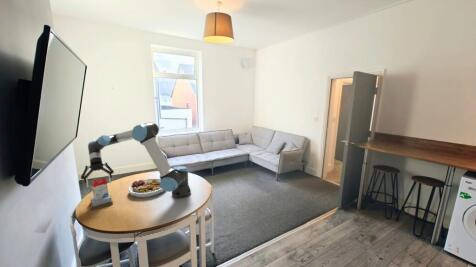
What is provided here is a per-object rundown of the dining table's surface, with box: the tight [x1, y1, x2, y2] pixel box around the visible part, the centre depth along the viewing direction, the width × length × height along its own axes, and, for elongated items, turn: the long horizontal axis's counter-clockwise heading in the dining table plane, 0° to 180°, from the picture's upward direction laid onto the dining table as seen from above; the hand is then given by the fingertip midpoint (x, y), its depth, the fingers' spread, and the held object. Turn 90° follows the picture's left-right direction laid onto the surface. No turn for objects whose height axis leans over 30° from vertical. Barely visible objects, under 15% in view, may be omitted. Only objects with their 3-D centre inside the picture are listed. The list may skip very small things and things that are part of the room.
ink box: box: [91, 177, 110, 200], centre depth 151 cm, size 8×5×15 cm, turn 140°
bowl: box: [128, 177, 165, 198], centre depth 174 cm, size 30×30×8 cm
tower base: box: [90, 194, 114, 211], centre depth 153 cm, size 13×13×3 cm
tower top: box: [90, 193, 112, 206], centre depth 152 cm, size 11×11×3 cm
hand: (99, 184), depth 148 cm, fingers open, 13 cm apart
